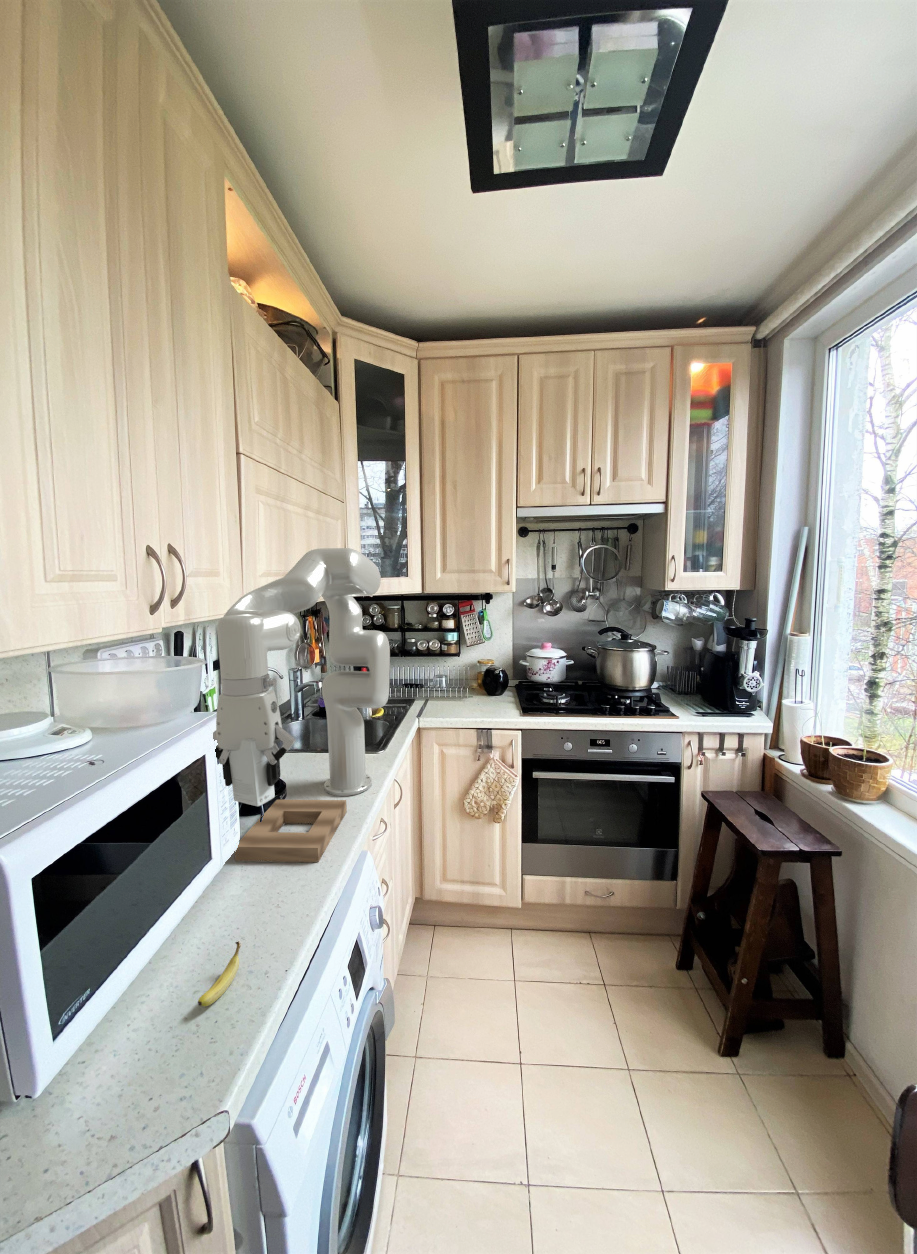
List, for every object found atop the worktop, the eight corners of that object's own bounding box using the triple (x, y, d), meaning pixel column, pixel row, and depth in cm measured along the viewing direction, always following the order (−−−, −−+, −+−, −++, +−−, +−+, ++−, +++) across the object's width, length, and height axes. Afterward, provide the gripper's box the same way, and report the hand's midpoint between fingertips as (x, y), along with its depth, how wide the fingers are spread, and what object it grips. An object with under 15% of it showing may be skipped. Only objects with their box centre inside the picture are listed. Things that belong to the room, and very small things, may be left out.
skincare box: (276, 797, 85) (272, 732, 84) (256, 808, 81) (251, 741, 80) (251, 791, 88) (246, 728, 86) (230, 801, 84) (225, 736, 82)
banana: (235, 964, 69) (234, 939, 68) (246, 966, 69) (244, 940, 68) (195, 1015, 61) (193, 987, 60) (207, 1017, 61) (205, 989, 60)
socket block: (277, 811, 114) (276, 799, 114) (346, 811, 113) (346, 800, 113) (235, 860, 94) (234, 846, 94) (318, 861, 93) (318, 847, 93)
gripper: (302, 680, 85) (308, 773, 87) (209, 680, 86) (216, 773, 88) (285, 690, 78) (292, 792, 80) (183, 691, 79) (192, 792, 81)
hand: (252, 782), depth 84 cm, fingers closed on skincare box, 7 cm apart
